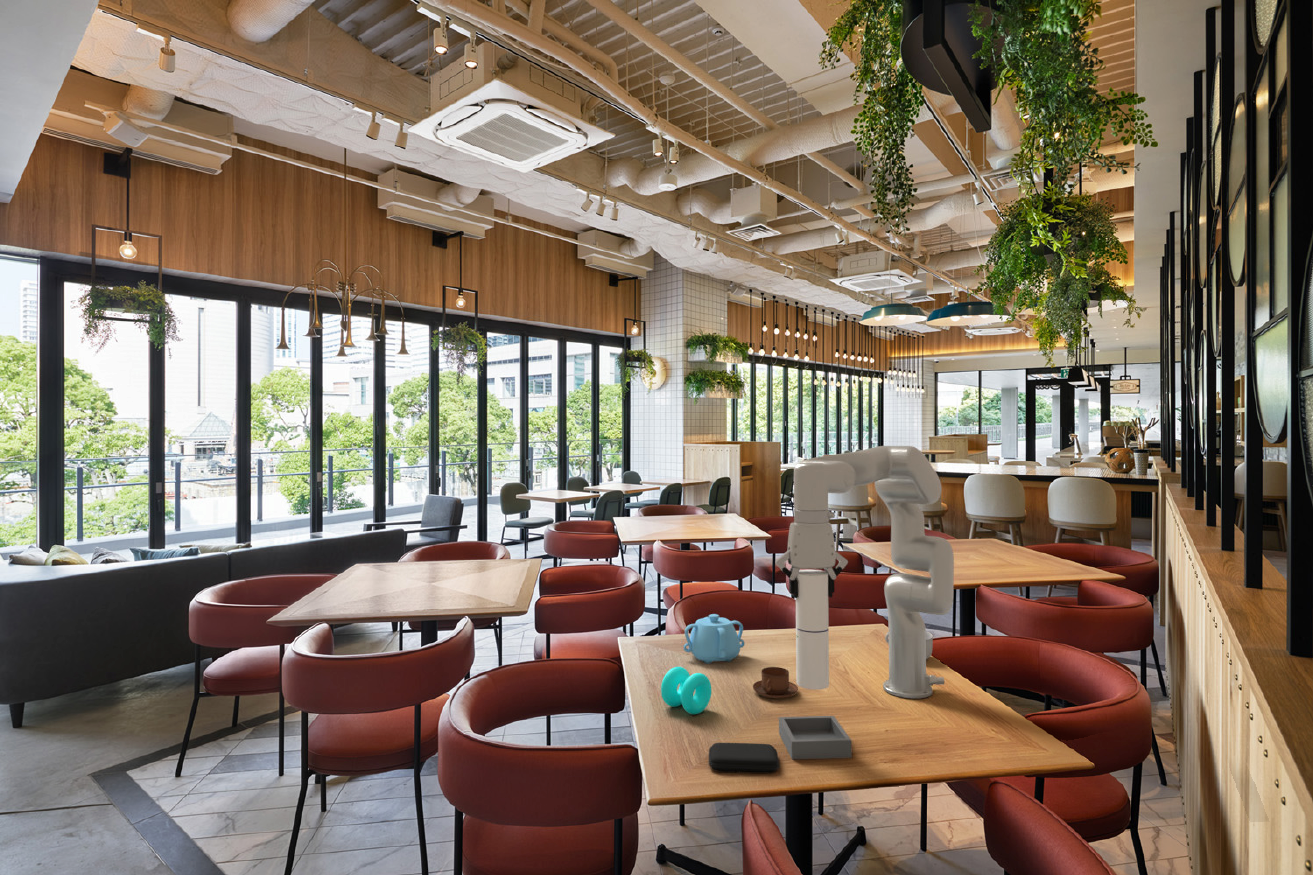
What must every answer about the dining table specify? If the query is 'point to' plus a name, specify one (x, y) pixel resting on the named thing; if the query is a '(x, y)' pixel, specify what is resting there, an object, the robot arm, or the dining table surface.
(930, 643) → the teacup
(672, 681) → the turquoise double ring spool
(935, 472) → the robot arm
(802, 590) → the cylindrical container
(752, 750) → the carrying case or bag
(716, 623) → the decorative pot
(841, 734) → the holder tray
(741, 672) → the dining table surface
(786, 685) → the cup and saucer
